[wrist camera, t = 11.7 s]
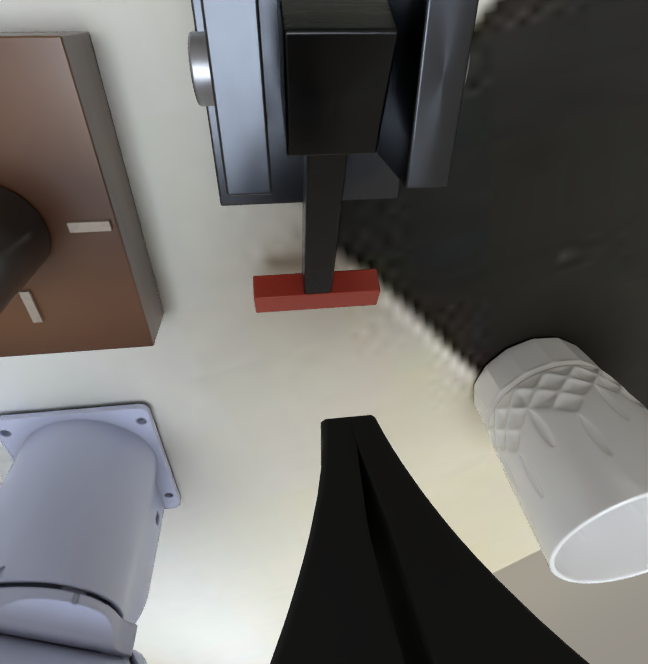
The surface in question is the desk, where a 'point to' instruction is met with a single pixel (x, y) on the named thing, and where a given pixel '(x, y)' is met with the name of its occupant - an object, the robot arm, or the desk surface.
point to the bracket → (266, 109)
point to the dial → (19, 244)
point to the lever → (329, 135)
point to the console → (71, 203)
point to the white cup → (571, 457)
